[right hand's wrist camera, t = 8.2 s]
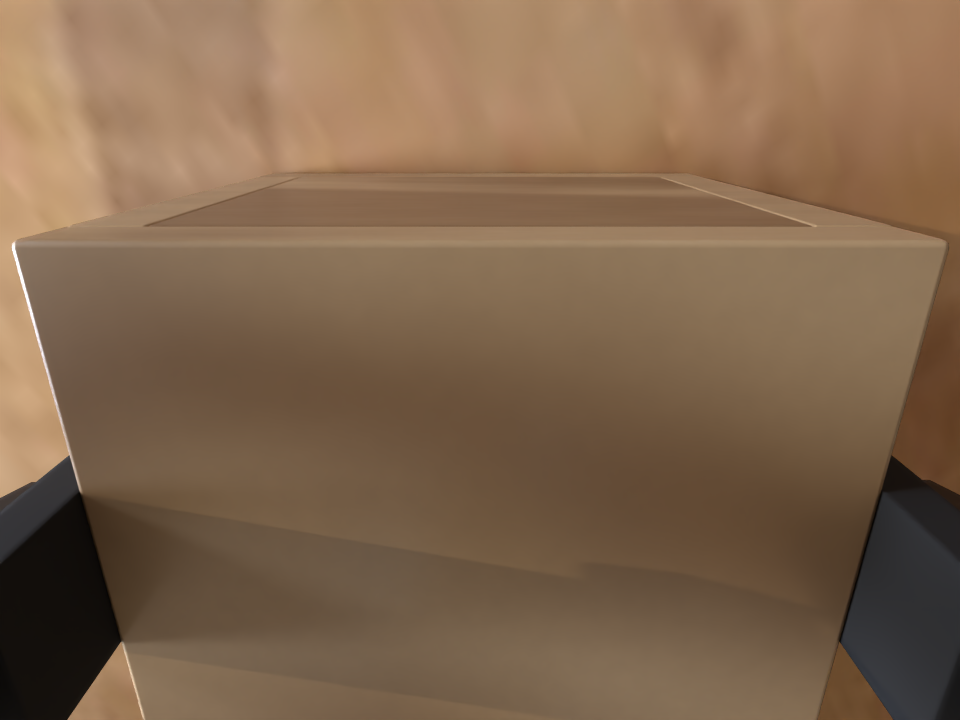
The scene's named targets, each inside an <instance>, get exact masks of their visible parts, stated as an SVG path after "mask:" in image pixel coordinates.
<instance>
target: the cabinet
mask: <svg viewBox="0 0 960 720" xmlns="http://www.w3.org/2000/svg"><path fill="white" fill-rule="evenodd" d="M12 250H13V254H14V258H15V261H16V265H17V268H18V272H19V275H20V279H21V283H22V286H23V290H24V293H25V297H26V301H27V304H28V308H29V311H30V315H31V319H32V322H33V326H34V329H35V333H36V336H37V340H38V344H39V347H40V351H41V354H42V358H43V362H44V365H45V369H46V372H47V376H48V380H49V383H50V387H51V390H52V394H53V397H54V401H55V405H56V408H57V412H58V415H59V419H60V423H61V426H62V430H63V433H64V437H65V441H66V444H67V448H68V451H69V455H70V458H71V462H72V466H73V469H74V473H75V476H76V480H77V484H78V487H79V491H80V494H81V498H82V502H83V505H84V509H85V512H86V516H87V519H88V523H89V527H90V530H91V534H92V537H93V541H94V545H95V548H96V552H97V555H98V559H99V563H100V566H101V570H102V573H103V577H104V581H105V584H106V588H107V591H108V595H109V598H110V602H111V606H112V609H113V613H114V616H115V620H116V624H117V627H118V631H119V634H120V638H121V642H122V645H123V649H124V652H125V656H126V659H127V663H128V667H129V670H130V674H131V677H132V681H133V685H134V688H135V692H136V695H137V699H138V703H139V706H140V710H141V713H142V717H143V720H817V719H818V716H819V712H820V708H821V705H822V701H823V698H824V694H825V691H826V687H827V683H828V680H829V676H830V673H831V669H832V665H833V662H834V658H835V655H836V651H837V648H838V644H839V640H840V637H841V633H842V630H843V626H844V623H845V619H846V615H847V612H848V608H849V605H850V601H851V597H852V594H853V590H854V587H855V583H856V580H857V576H858V572H859V569H860V565H861V562H862V558H863V554H864V551H865V547H866V544H867V540H868V537H869V533H870V529H871V526H872V522H873V519H874V515H875V512H876V508H877V504H878V501H879V497H880V494H881V490H882V486H883V483H884V479H885V476H886V472H887V469H888V465H889V461H890V458H891V454H892V451H893V447H894V443H895V440H896V436H897V433H898V429H899V426H900V422H901V418H902V415H903V411H904V408H905V404H906V401H907V397H908V393H909V390H910V386H911V383H912V379H913V375H914V372H915V368H916V365H917V361H918V358H919V354H920V350H921V347H922V343H923V340H924V336H925V333H926V329H927V325H928V322H929V318H930V315H931V311H932V307H933V304H934V300H935V297H936V293H937V290H938V286H939V282H940V279H941V275H942V272H943V268H944V264H945V261H946V257H947V254H948V250H949V243H948V242H947V241H945V240H943V239H940V238H936V237H932V236H928V235H924V234H920V233H916V232H912V231H909V230H905V229H901V228H897V227H893V226H891V225H888V224H884V223H880V222H876V221H872V220H868V219H864V218H860V217H856V216H853V215H849V214H845V213H841V212H837V211H833V210H829V209H825V208H821V207H817V206H813V205H809V204H805V203H802V202H798V201H794V200H790V199H786V198H782V197H778V196H774V195H770V194H766V193H762V192H758V191H754V190H751V189H747V188H743V187H739V186H735V185H731V184H727V183H723V182H719V181H715V180H711V179H707V178H703V177H700V176H696V175H692V174H688V173H272V174H268V175H264V176H260V177H257V178H253V179H249V180H246V181H242V182H238V183H234V184H230V185H226V186H222V187H218V188H214V189H210V190H206V191H203V192H199V193H195V194H191V195H187V196H183V197H179V198H175V199H171V200H167V201H163V202H160V203H156V204H152V205H148V206H144V207H140V208H136V209H132V210H128V211H124V212H121V213H117V214H113V215H109V216H105V217H101V218H97V219H93V220H89V221H85V222H81V223H78V224H74V225H71V226H69V227H64V228H60V229H56V230H52V231H48V232H44V233H41V234H37V235H33V236H29V237H25V238H21V239H18V240H16V241H14V242H13V243H12Z"/></svg>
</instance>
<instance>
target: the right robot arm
mask: <svg viewBox="0 0 960 720" xmlns="http://www.w3.org/2000/svg"><path fill="white" fill-rule="evenodd" d="M839 641H840V643H841V644H842V646H843V647H844V649H845V650H846V651H847V653H848V654H849V656H850V657H851V659H852V660H853V662H854V663H855V665H856V666H857V667H858V669H859V670H860V672H861V673H862V675H863V676H864V678H865V679H866V680H867V682H868V683H869V685H870V686H871V688H872V689H873V691H874V692H875V693H876V695H877V696H878V698H879V699H880V701H881V702H882V704H883V705H884V707H885V708H886V709H887V711H888V712H889V714H890V715H891V717H892V718H893V720H960V495H958V494H956V493H954V492H952V491H950V490H948V489H946V488H944V487H942V486H940V485H938V484H936V483H935V482H933V481H931V480H921V479H920V478H919V477H918V476H916V475H915V474H914V473H913V472H911V471H910V470H909V469H908V468H907V467H905V466H904V465H903V464H902V463H900V462H899V461H898V460H897V459H895V458H894V457H893V456H892V455H891V458H890V461H889V465H888V469H887V472H886V476H885V479H884V483H883V486H882V490H881V494H880V497H879V501H878V504H877V508H876V512H875V515H874V519H873V522H872V526H871V529H870V533H869V537H868V540H867V544H866V547H865V551H864V554H863V558H862V562H861V565H860V569H859V572H858V576H857V580H856V583H855V587H854V590H853V594H852V597H851V601H850V605H849V608H848V612H847V615H846V619H845V623H844V626H843V630H842V633H841V637H840V640H839ZM120 642H121V638H120V634H119V631H118V627H117V624H116V620H115V616H114V613H113V609H112V606H111V602H110V598H109V595H108V591H107V588H106V584H105V581H104V577H103V573H102V570H101V566H100V563H99V559H98V555H97V552H96V548H95V545H94V541H93V537H92V534H91V530H90V527H89V523H88V519H87V516H86V512H85V509H84V505H83V502H82V498H81V494H80V491H79V487H78V484H77V480H76V476H75V473H74V469H73V466H72V462H71V458H70V455H69V456H68V457H66V458H65V459H64V460H63V461H62V462H60V463H59V464H58V465H57V466H55V467H54V468H53V469H52V470H50V471H49V472H48V473H47V474H46V475H44V476H43V477H42V478H41V479H39V480H38V481H37V482H31V483H29V484H27V485H25V486H23V487H21V488H19V489H17V490H15V491H13V492H11V493H9V494H7V495H5V496H3V497H1V498H0V720H67V719H68V718H69V716H70V715H71V713H72V712H73V710H74V709H75V708H76V706H77V705H78V703H79V702H80V700H81V699H82V697H83V696H84V694H85V693H86V692H87V690H88V689H89V687H90V686H91V684H92V683H93V681H94V680H95V679H96V677H97V676H98V674H99V673H100V671H101V670H102V668H103V667H104V665H105V664H106V663H107V661H108V660H109V658H110V657H111V655H112V654H113V652H114V651H115V650H116V648H117V647H118V645H119V644H120Z"/></svg>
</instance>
